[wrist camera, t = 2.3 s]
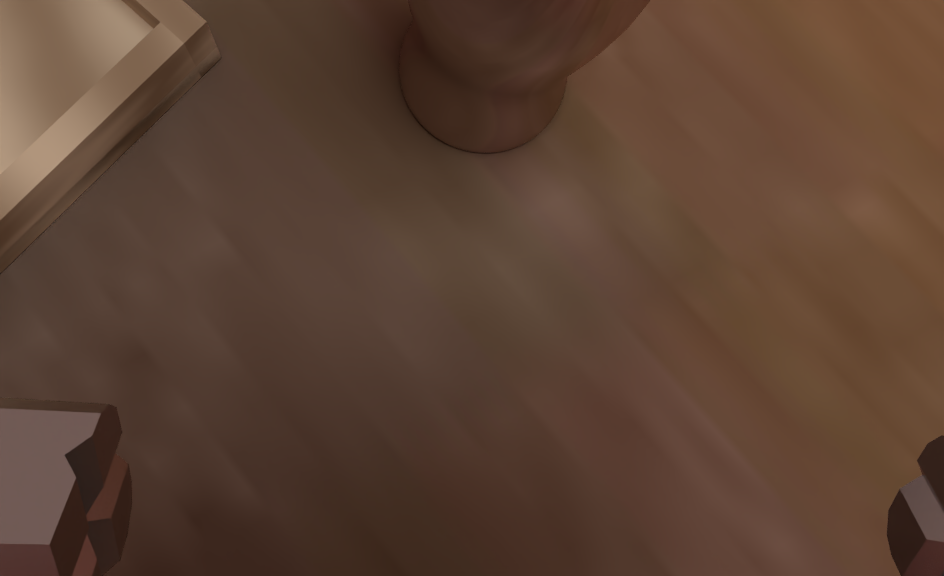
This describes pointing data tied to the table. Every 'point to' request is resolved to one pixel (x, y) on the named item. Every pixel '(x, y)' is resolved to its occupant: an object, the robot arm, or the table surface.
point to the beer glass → (500, 63)
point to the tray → (83, 96)
